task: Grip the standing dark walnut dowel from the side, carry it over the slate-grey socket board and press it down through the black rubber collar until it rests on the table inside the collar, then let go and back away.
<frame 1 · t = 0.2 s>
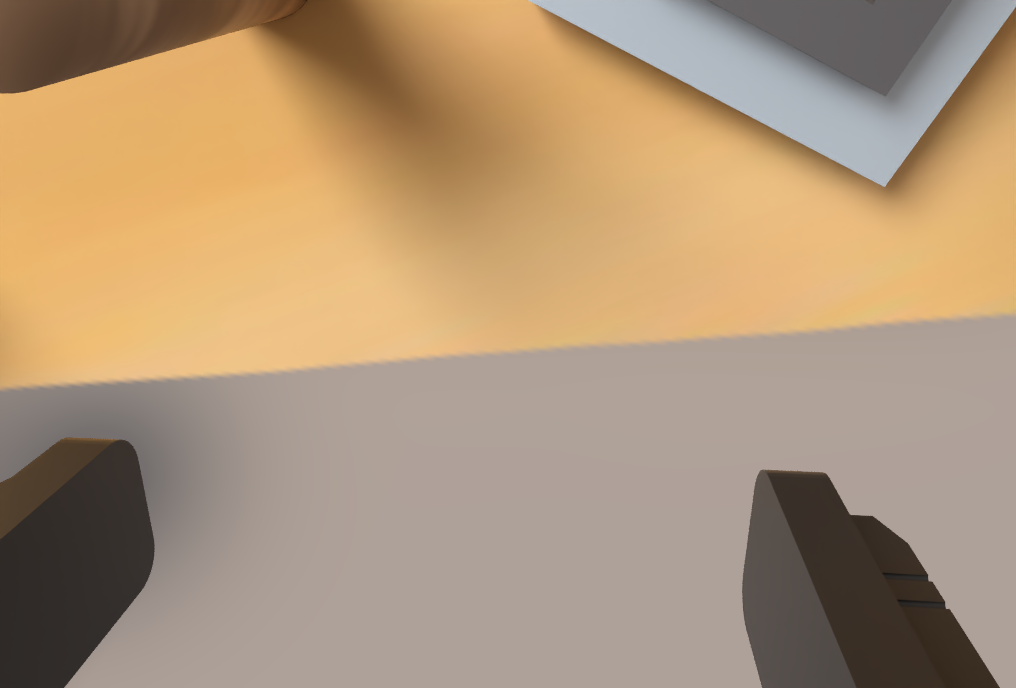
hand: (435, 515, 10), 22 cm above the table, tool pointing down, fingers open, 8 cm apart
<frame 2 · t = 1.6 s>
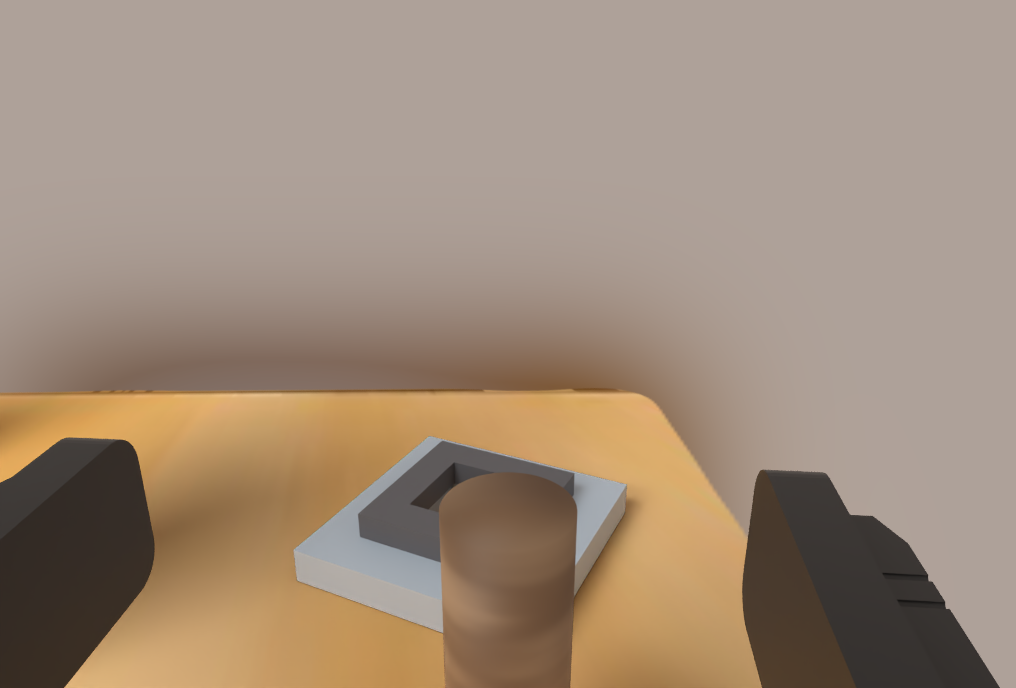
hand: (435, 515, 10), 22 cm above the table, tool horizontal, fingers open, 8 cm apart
socket: (471, 544, 46), on the table
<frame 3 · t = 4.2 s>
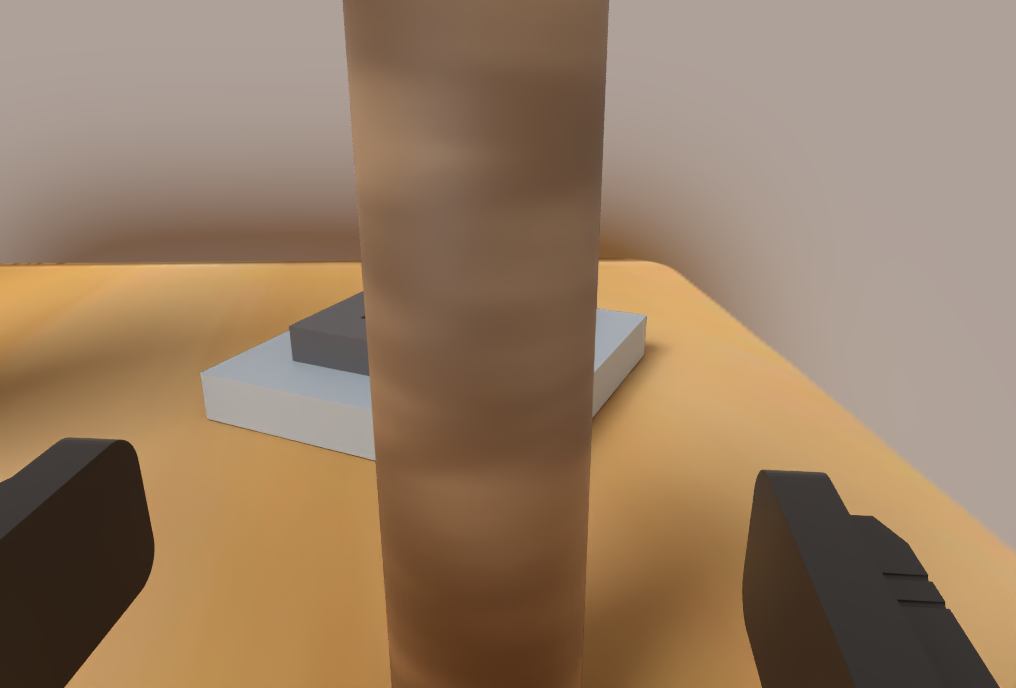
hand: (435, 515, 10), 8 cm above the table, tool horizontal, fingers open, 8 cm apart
socket: (445, 383, 35), on the table
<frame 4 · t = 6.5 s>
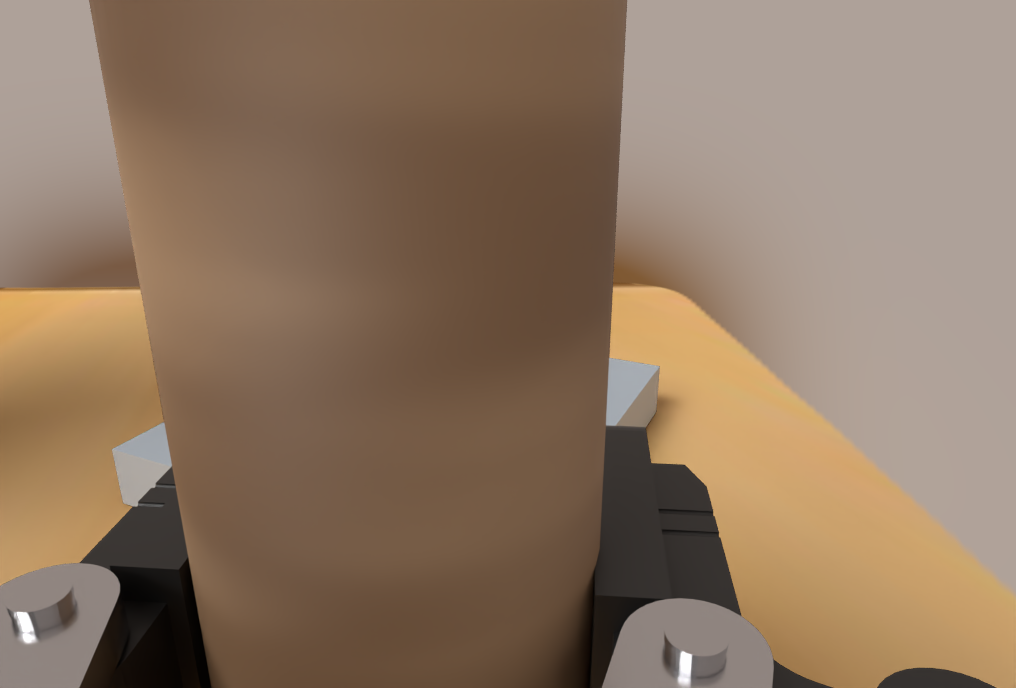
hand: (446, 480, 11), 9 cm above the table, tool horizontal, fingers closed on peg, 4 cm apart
socket: (418, 452, 29), on the table
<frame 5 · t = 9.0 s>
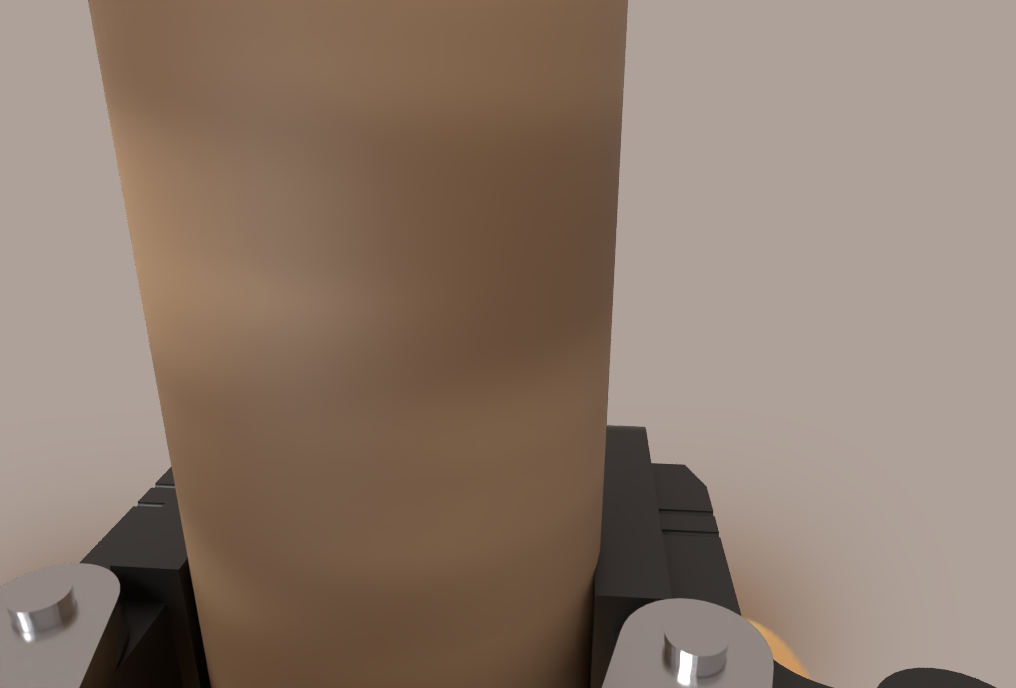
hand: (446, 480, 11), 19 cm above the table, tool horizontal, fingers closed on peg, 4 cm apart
when the fingers open (9 cm above the table, at t = 11.7 s): peg stays where it is, resting in socket.
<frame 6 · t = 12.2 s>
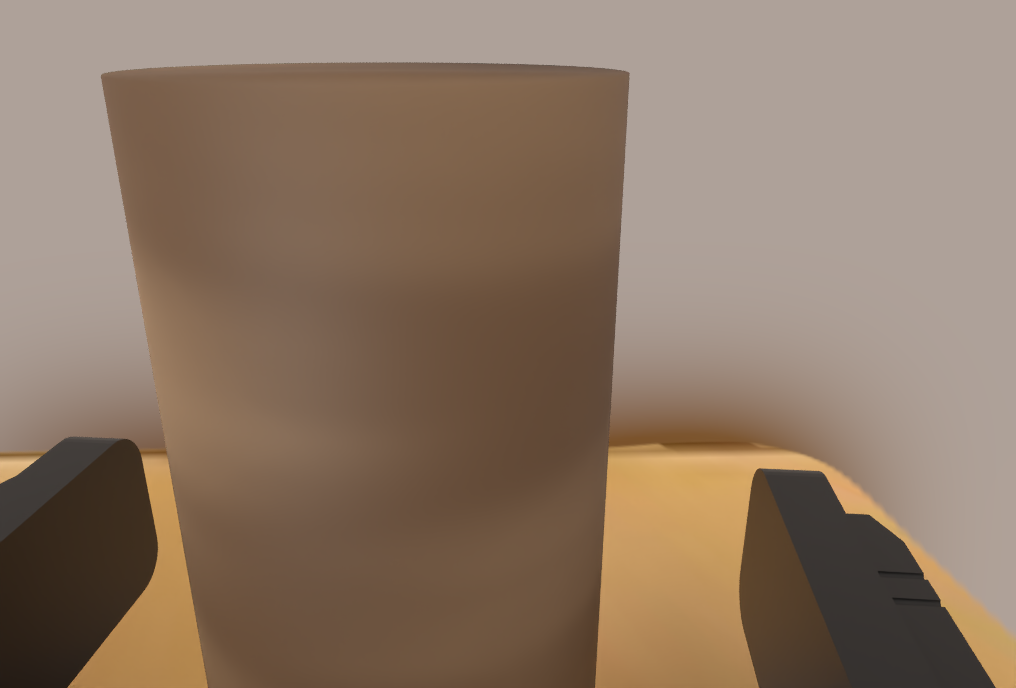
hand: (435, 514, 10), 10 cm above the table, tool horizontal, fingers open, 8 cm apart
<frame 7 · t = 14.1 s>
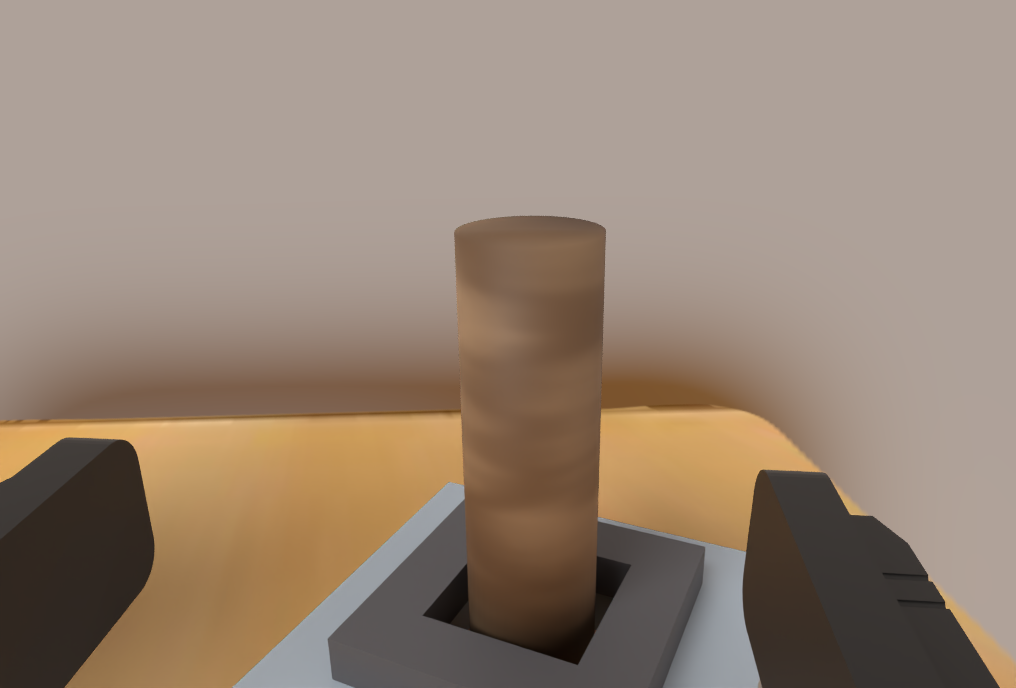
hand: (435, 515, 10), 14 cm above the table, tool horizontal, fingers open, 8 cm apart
peg: (532, 678, 26), resting in socket
socket: (532, 676, 26), on the table
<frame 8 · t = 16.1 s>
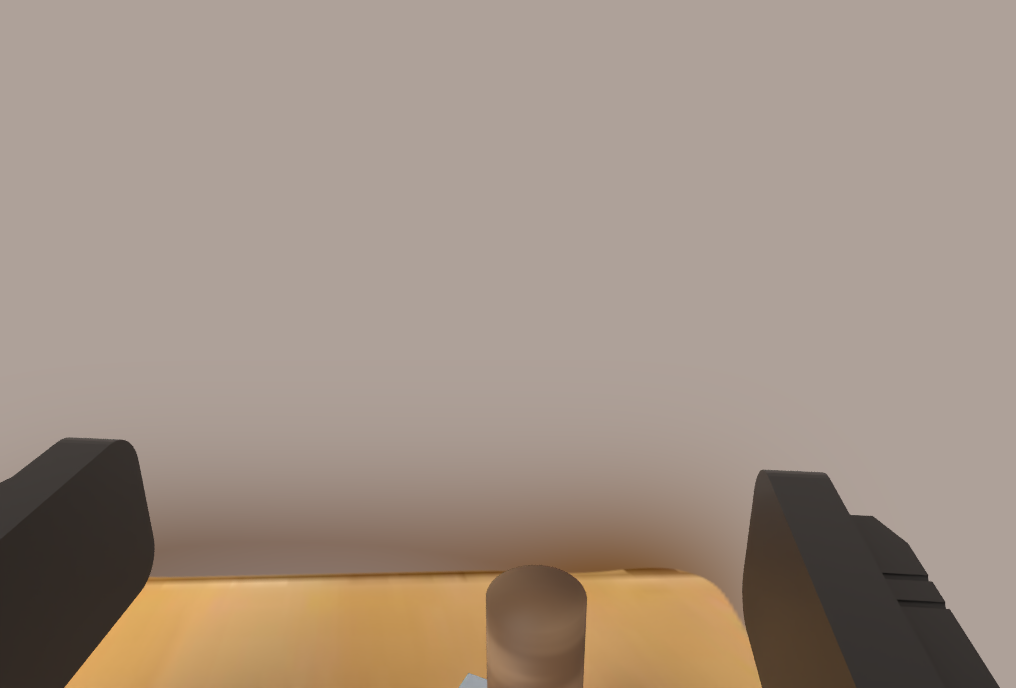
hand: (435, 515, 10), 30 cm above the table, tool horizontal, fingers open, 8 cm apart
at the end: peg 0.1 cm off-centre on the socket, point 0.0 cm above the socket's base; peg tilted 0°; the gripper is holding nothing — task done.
